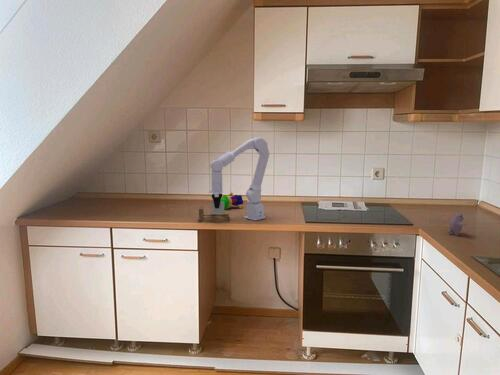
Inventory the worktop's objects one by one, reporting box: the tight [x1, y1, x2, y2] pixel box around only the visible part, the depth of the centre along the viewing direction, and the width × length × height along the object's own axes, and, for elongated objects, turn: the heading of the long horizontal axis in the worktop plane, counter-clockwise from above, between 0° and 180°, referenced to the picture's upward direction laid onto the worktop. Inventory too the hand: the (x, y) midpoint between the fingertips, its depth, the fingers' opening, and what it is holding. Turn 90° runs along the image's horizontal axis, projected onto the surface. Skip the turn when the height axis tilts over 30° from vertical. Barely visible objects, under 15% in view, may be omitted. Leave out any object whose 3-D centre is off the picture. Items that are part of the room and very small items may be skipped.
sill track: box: [198, 205, 230, 223], centre depth 199 cm, size 16×7×7 cm, turn 93°
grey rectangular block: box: [210, 201, 225, 214], centre depth 199 cm, size 7×2×6 cm, turn 93°
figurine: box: [447, 212, 466, 237], centre depth 173 cm, size 12×6×10 cm, turn 170°
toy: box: [220, 192, 244, 210], centre depth 227 cm, size 12×9×15 cm
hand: (217, 207), depth 199 cm, fingers closed on grey rectangular block, 2 cm apart
